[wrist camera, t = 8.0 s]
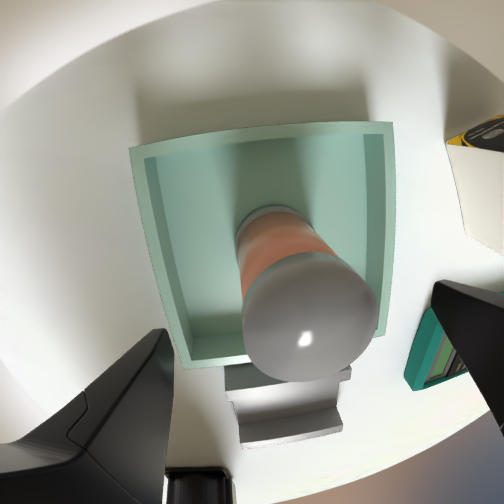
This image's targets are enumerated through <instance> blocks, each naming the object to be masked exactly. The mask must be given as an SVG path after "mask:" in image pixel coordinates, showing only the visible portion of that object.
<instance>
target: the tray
mask: <svg viewBox="0 0 504 504" xmlns="http://www.w3.org/2000/svg"><path fill="white" fill-rule="evenodd" d="M129 154H130V160H131V166H132V172H133V178H134V183H135V189H136V194H137V199H138V204H139V209H140V214H141V219H142V224H143V228H144V233H145V237H146V241H147V246H148V250H149V254H150V258H151V262H152V266H153V270H154V274H155V277H156V281H157V285H158V289H159V292H160V296H161V299H162V303H163V306H164V310H165V313H166V316H167V320H168V323H169V326H170V329H171V333H172V336H173V339H174V342H175V345H176V348H177V351H178V354H179V357H180V360H181V363H182V366H183V369H194V368H205V367H215V366H224V365H232V364H240V363H248V362H252V361H251V360H250V359H249V357H248V355H247V353H246V350H245V346H244V339H243V329H242V319H241V310H242V304H243V301H242V292H241V283H240V274H239V267H238V264H237V261H236V256H235V244H234V243H235V235H236V231H237V229H238V227H239V225H240V223H241V222H242V220H243V219H244V218H245V217H246V216H247V215H248V214H249V213H250V212H252V211H253V210H255V209H257V208H259V207H261V206H264V205H269V204H282V205H286V206H289V207H292V208H294V209H296V210H297V211H298V212H300V213H301V214H302V215H303V216H304V217H305V218H306V219H307V220H308V221H309V222H310V223H311V225H312V226H313V228H314V229H315V231H316V233H317V234H318V235H319V236H320V237H321V238H322V239H323V240H324V241H325V242H326V243H327V244H328V246H329V247H330V248H331V249H332V250H333V251H334V252H335V253H336V254H337V255H338V256H339V258H341V259H343V260H344V261H346V262H347V263H348V264H349V265H350V266H351V267H352V268H353V269H354V270H355V271H356V272H357V273H358V274H359V275H360V276H361V277H362V278H363V280H364V281H365V282H366V283H367V284H368V285H369V286H370V288H371V289H372V291H373V292H374V295H375V297H376V300H377V303H378V310H379V315H378V323H377V327H376V330H375V333H374V336H373V338H376V337H379V336H383V335H385V331H386V325H387V318H388V310H389V302H390V294H391V284H392V273H393V261H394V246H395V222H396V170H395V147H394V132H393V122H376V121H339V122H310V123H293V124H280V125H268V126H258V127H248V128H240V129H232V130H224V131H217V132H210V133H204V134H198V135H192V136H186V137H180V138H175V139H169V140H164V141H159V142H155V143H150V144H145V145H141V146H136V147H132V148H129Z"/></svg>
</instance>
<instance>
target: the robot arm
mask: <svg viewBox="0 0 504 504" xmlns="http://www.w3.org/2000/svg"><path fill="white" fill-rule="evenodd" d="M431 308H432V310H433V312H434V314H435V316H436V317H437V319H438V321H439V323H440V325H441V327H442V328H443V330H444V332H445V334H446V336H447V338H448V340H449V341H450V343H451V344H452V346H453V348H454V349H455V351H456V352H457V354H458V355H459V357H460V359H461V360H462V362H463V363H464V365H465V367H466V368H467V370H468V372H469V373H470V375H471V376H472V378H473V380H474V382H475V383H476V385H477V387H478V388H479V390H480V392H481V394H482V396H483V397H484V399H485V401H486V403H487V405H488V406H489V408H490V410H491V412H492V414H493V416H494V418H495V420H496V422H497V424H498V425H499V427H500V428H501V429H500V430H501V432H502V434H503V436H504V295H501V294H498V293H494V292H490V291H487V290H483V289H479V288H476V287H472V286H468V285H464V284H460V283H457V282H453V281H449V280H440V281H437V282H435V284H434V286H433V292H432V298H431ZM173 394H174V350H173V347H172V344H171V341H170V338H169V335H168V332H167V330H166V329H164V328H162V329H153V330H152V331H150V332H149V333H148V334H147V335H146V336H145V337H144V338H142V339H141V340H140V341H139V342H138V343H137V344H136V345H134V346H133V347H132V348H131V349H130V350H129V351H127V352H126V353H125V354H124V355H123V356H122V357H121V358H120V359H118V360H117V361H116V362H115V363H114V364H113V365H112V366H110V367H109V368H108V369H107V370H106V371H105V372H104V373H102V374H101V375H100V376H99V377H98V378H97V379H96V380H94V381H93V382H92V383H91V384H90V385H89V386H88V387H86V388H85V389H84V391H82V392H81V393H80V394H78V395H77V396H76V397H75V398H74V399H73V400H72V401H70V402H69V403H68V404H67V405H66V406H64V407H63V408H62V409H61V410H59V411H58V412H57V413H55V414H54V415H53V416H51V417H50V418H49V419H47V420H46V421H45V422H43V423H42V424H40V425H39V426H38V427H36V428H35V429H34V430H32V431H31V432H30V433H28V434H27V435H25V436H24V437H22V438H21V439H19V440H17V441H14V442H11V443H5V444H0V504H162V496H163V485H164V475H165V476H166V477H167V478H168V488H167V501H166V504H236V491H235V485H234V483H233V481H232V479H231V478H228V476H227V474H226V472H225V470H224V468H221V467H214V468H165V464H166V454H167V445H168V436H169V428H170V420H171V412H172V405H173Z"/></svg>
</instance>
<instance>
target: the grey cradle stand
mask: <svg viewBox="0 0 504 504" xmlns="http://www.w3.org/2000/svg"><path fill="white" fill-rule="evenodd" d="M224 370H225V393H226V397H227V400H228V401H233V405H234V409H235V413H236V416H237V420H238V424H239V436H240V445H241V448H242V449H251V448H259V447H266V446H273V445H279V444H285V443H291V442H296V441H301V440H306V439H311V438H316V437H320V436H325V435H329V434H333V433H337V432H341V431H342V428H343V423H342V420H341V418H340V415H339V413H338V410H337V407H336V405H337V396H338V387H339V382H342V381H346V380H350V378H351V370H352V369H351V367H350V365H348V366H347V367H345V368H344V369H342V370H341V371H339V372H337V373H335V374H333V375H331V376H328V377H325V378H322V379H319V380H315V381H308V382H288V381H282V380H278V379H275V378H273V377H270V376H268V375H266V374H265V373H263V372H262V371H260V370H259V369H258V368H257V367H256V366H255V365H254V364H253V363H244V364H237V365H229V366H224Z"/></svg>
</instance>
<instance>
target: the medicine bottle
mask: <svg viewBox="0 0 504 504" xmlns="http://www.w3.org/2000/svg"><path fill="white" fill-rule="evenodd" d="M446 148H447V152H448V155H449V159H450V163H451V166H452V170H453V174H454V178H455V182H456V187H457V191H458V196H459V201H460V206H461V211H462V217H463V222H464V229H465V234H466V235H467V236H468V237H470V238H472V239H473V240H475V241H477V242H479V243H481V244H483V245H485V246H486V247H488V248H490V249H492V250H494V251H495V252H497V253H499V254H501V255H502V256H504V115H499V116H496V117H494V118H492V119H490V120H488V121H486V122H484V123H482V124H480V125H478V126H476V127H474V128H472V129H470V130H468V131H466V132H464V133H462V134H460V135H458V136H456V137H454V138H452V139H450V140H448V141H447V142H446Z"/></svg>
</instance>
